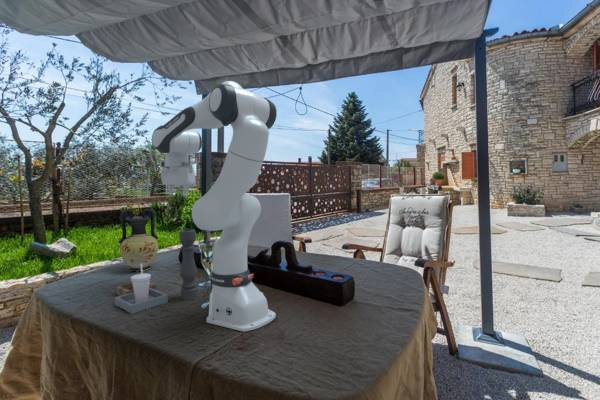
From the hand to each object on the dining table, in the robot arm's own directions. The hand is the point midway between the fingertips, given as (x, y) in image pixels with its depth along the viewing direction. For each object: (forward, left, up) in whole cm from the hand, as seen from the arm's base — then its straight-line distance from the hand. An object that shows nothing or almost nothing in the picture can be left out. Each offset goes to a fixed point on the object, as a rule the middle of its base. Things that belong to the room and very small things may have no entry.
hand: (178, 195), depth 135 cm
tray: (-10, +22, -37) cm, 44 cm away
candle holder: (-18, +8, -37) cm, 42 cm away
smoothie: (-11, +22, -37) cm, 44 cm away
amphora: (+35, +1, -37) cm, 51 cm away
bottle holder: (+3, +18, -37) cm, 41 cm away
